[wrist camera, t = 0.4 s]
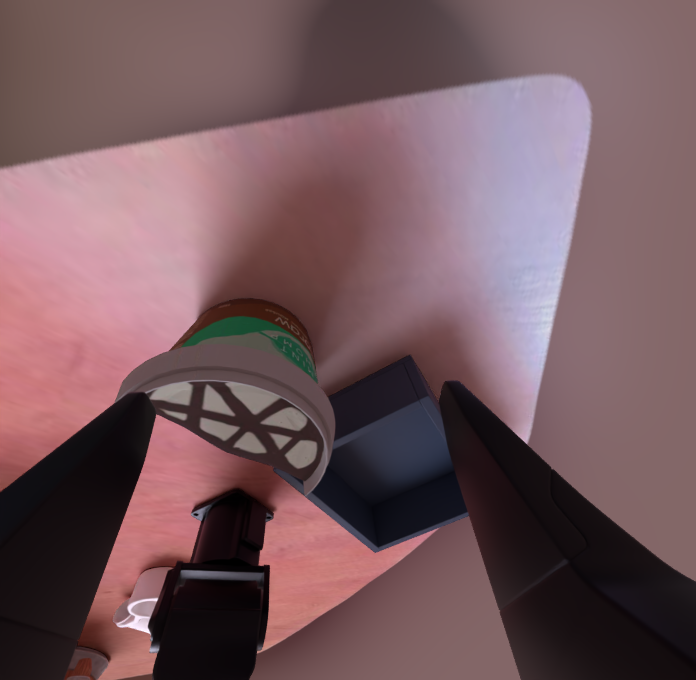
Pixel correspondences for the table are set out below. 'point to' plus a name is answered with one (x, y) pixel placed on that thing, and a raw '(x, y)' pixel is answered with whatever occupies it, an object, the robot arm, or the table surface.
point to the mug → (86, 664)
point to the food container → (245, 387)
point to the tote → (388, 460)
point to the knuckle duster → (141, 600)
